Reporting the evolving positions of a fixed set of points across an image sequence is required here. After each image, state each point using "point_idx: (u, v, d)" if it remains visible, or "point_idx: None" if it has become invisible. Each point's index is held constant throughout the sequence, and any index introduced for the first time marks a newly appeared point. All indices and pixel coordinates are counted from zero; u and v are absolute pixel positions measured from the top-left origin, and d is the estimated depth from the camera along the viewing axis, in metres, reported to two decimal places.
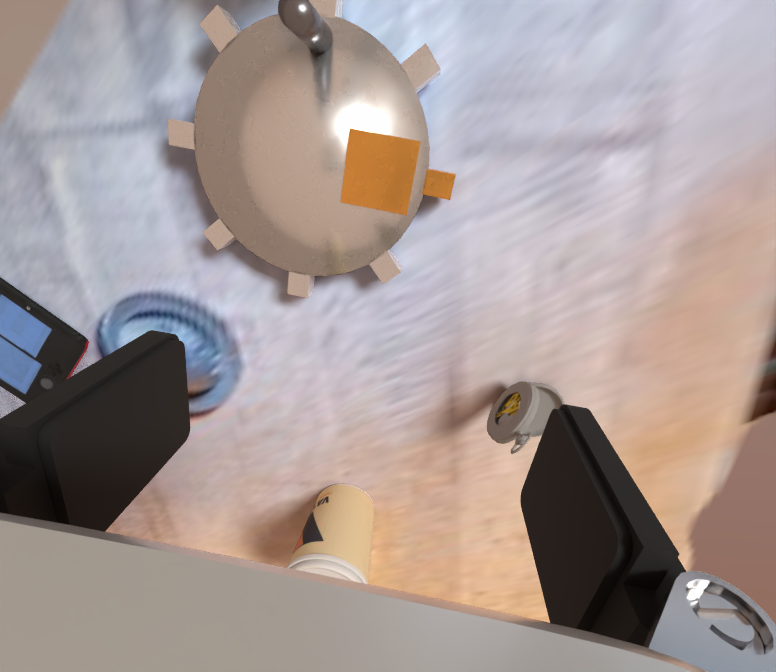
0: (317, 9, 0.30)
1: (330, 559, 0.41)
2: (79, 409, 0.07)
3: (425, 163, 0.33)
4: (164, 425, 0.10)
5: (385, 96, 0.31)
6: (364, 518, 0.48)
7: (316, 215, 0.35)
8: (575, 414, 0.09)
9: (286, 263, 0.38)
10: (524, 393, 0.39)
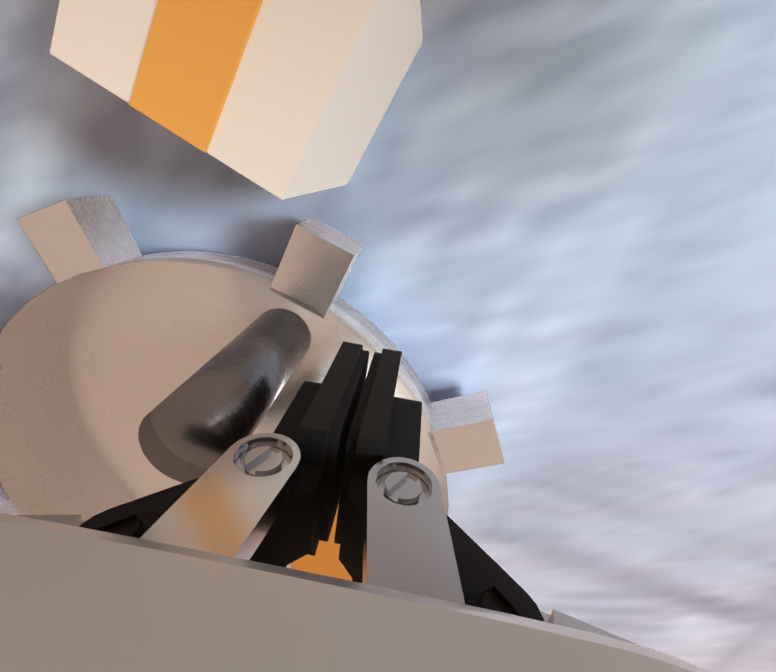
0: (291, 290, 0.13)
1: None
2: (343, 414, 0.08)
3: None
4: None
5: None
6: None
7: None
8: (384, 354, 0.10)
9: None
10: None
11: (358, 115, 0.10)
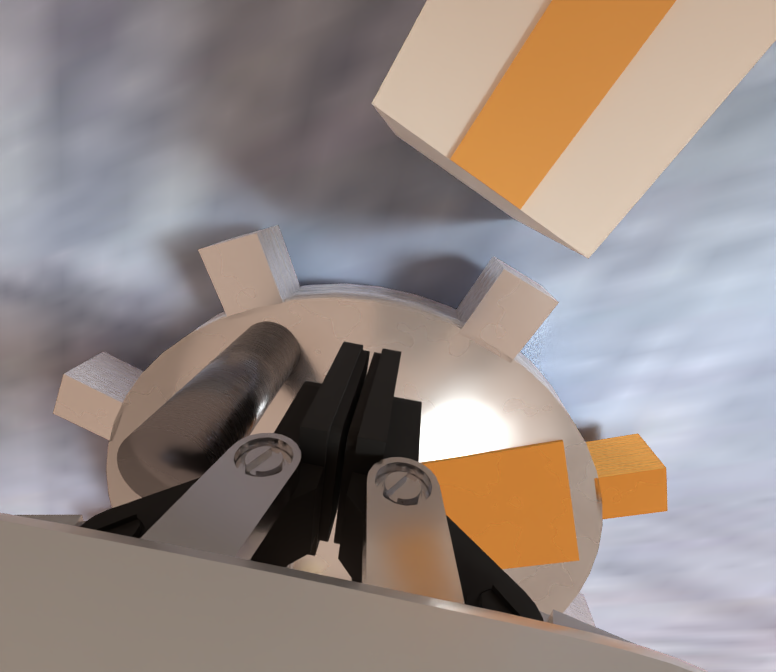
0: (242, 306, 0.13)
1: None
2: (344, 414, 0.08)
3: (587, 470, 0.14)
4: None
5: (451, 393, 0.14)
6: None
7: None
8: (384, 354, 0.10)
9: None
10: None
11: None
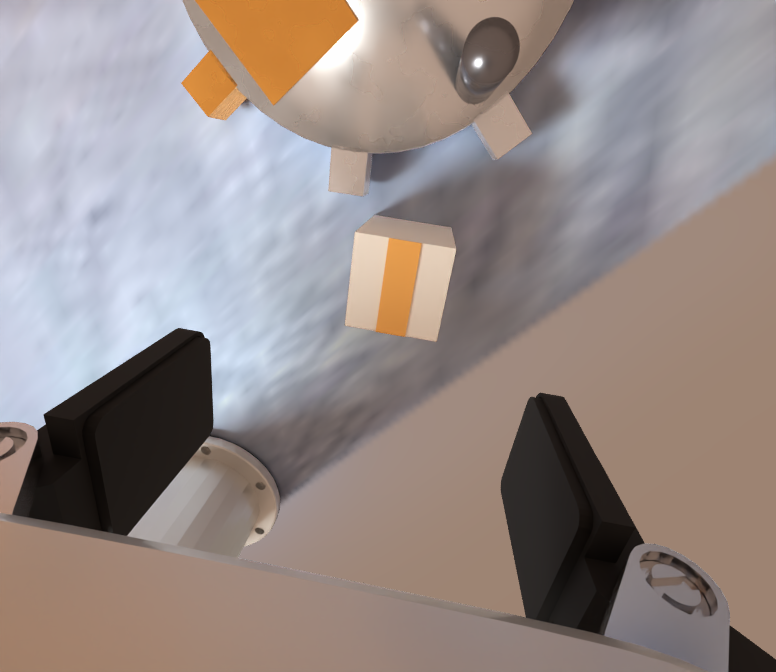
0: (499, 106, 0.20)
1: None
2: (119, 403, 0.07)
3: (245, 89, 0.21)
4: (191, 420, 0.10)
5: (352, 105, 0.21)
6: None
7: None
8: (550, 402, 0.09)
9: None
10: None
11: None
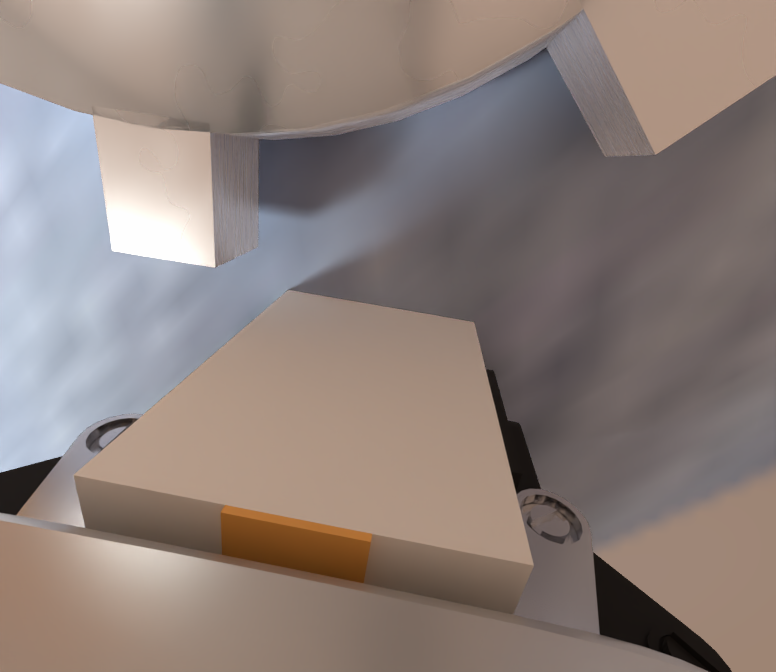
0: None
1: None
2: None
3: None
4: None
5: None
6: None
7: None
8: None
9: None
10: None
11: None
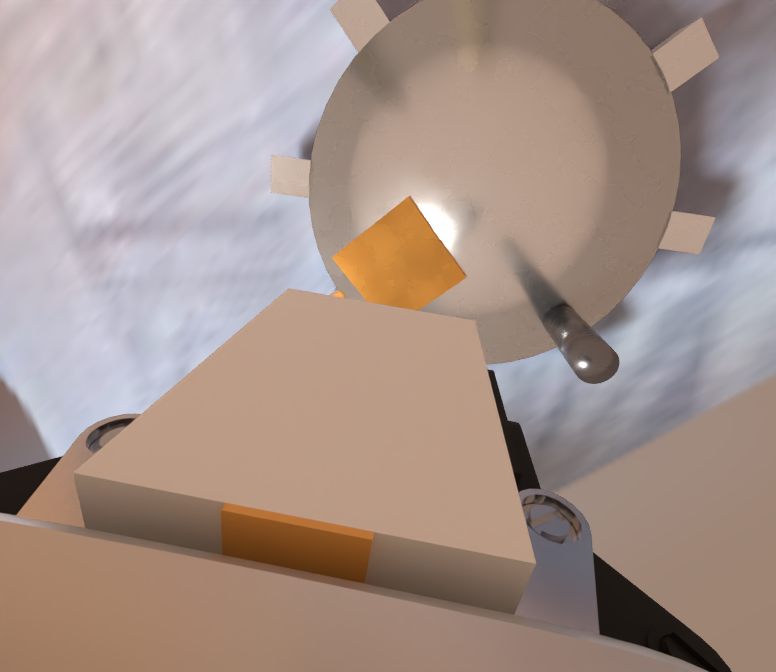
0: None
1: None
2: None
3: None
4: None
5: None
6: None
7: (421, 149, 0.22)
8: None
9: (403, 30, 0.20)
10: None
11: None
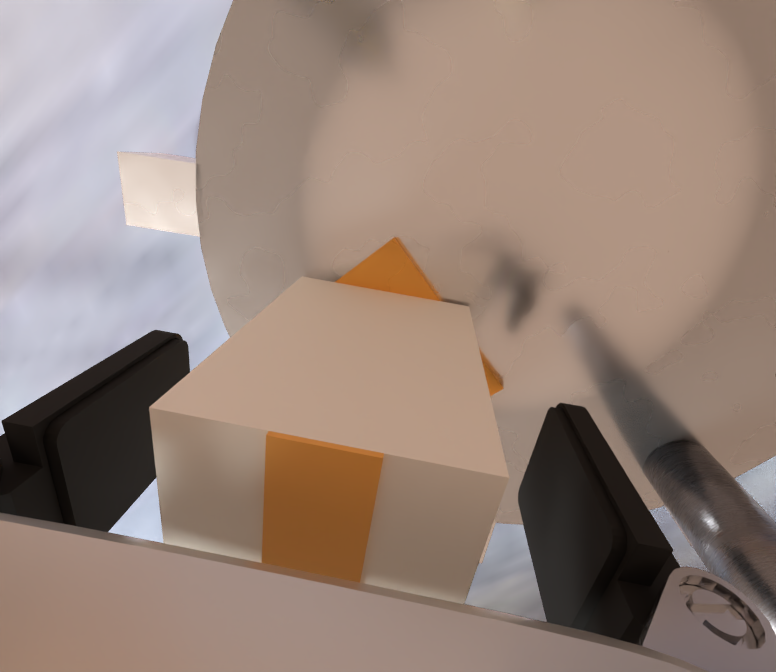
0: None
1: None
2: (85, 408, 0.07)
3: None
4: None
5: None
6: None
7: (421, 143, 0.10)
8: (572, 412, 0.09)
9: None
10: None
11: None
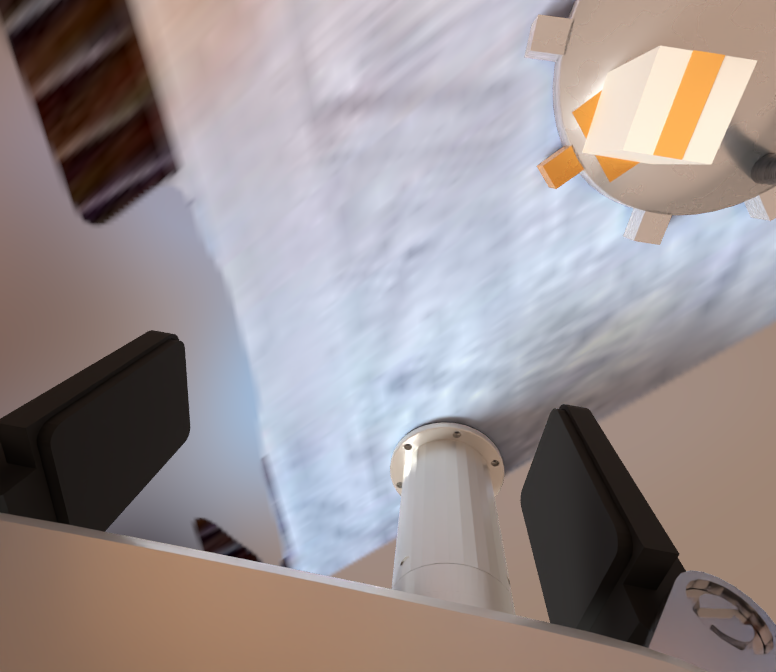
0: None
1: None
2: (79, 409, 0.07)
3: (591, 171, 0.30)
4: (164, 425, 0.10)
5: (669, 183, 0.30)
6: None
7: (674, 6, 0.26)
8: (575, 414, 0.09)
9: None
10: None
11: (619, 100, 0.25)
